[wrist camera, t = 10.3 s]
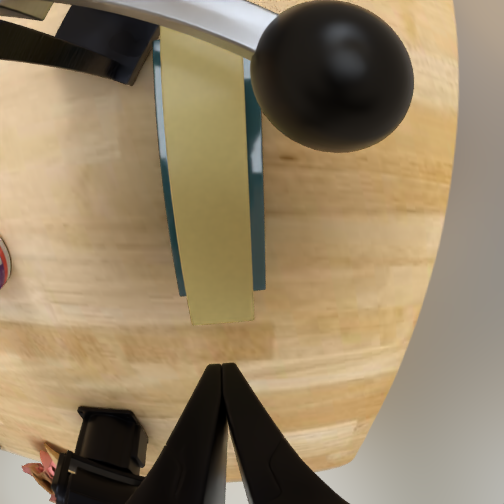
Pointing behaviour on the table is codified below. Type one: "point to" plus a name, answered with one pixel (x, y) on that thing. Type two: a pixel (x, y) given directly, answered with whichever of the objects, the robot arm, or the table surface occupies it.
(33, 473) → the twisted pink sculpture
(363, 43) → the lever handle
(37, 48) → the stand
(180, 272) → the butter dish
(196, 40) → the butter
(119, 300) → the table surface
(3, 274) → the pill bottle
